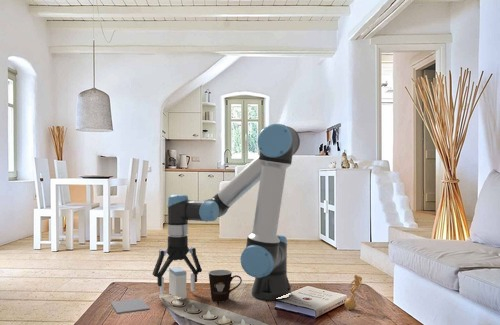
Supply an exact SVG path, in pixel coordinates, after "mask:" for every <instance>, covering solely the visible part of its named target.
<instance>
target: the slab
mask: <svg viewBox="0 0 500 325" xmlns="http://www.w3.org/2000/svg"><path fill="white" fill-rule="evenodd" d="M168 268H169V271H168V272H169V274H168V278H169V279H168V284H169V285H168V294H169V295H170V294H171V295H174V296H178V297H182V298H186V299H187V271H186V270H184V269H183V268H181V267H180V266H176V267H168ZM171 295H170V296H171Z"/></svg>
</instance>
